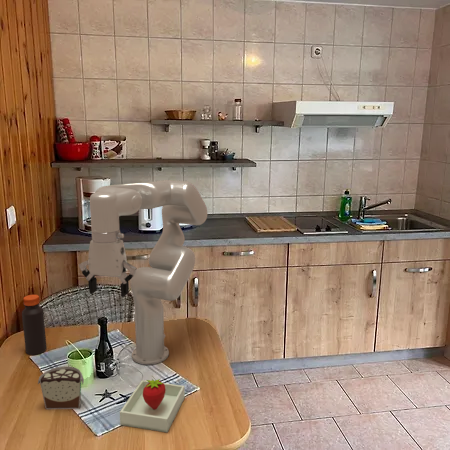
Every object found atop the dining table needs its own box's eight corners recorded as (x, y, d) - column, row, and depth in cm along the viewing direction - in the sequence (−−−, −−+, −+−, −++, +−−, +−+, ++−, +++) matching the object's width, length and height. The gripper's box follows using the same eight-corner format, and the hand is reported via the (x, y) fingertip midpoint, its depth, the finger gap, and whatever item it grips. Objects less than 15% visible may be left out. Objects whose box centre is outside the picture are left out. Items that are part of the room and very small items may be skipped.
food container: (90, 395, 132) (88, 365, 130) (84, 408, 126) (82, 377, 124) (48, 396, 131) (45, 365, 129) (40, 409, 125) (37, 377, 123)
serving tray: (142, 391, 134) (141, 380, 133) (184, 398, 131) (184, 385, 130) (120, 425, 119) (119, 411, 118) (167, 432, 117) (167, 419, 116)
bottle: (27, 357, 152) (21, 302, 148) (24, 348, 158) (19, 295, 153) (48, 352, 156) (43, 298, 151) (45, 344, 161) (40, 292, 157)
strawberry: (138, 414, 123) (137, 381, 120) (151, 399, 130) (151, 367, 127) (157, 419, 121) (156, 386, 118) (170, 403, 128) (169, 371, 125)
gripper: (140, 235, 127) (142, 291, 131) (84, 231, 130) (88, 286, 134) (129, 242, 120) (131, 301, 124) (70, 237, 123) (74, 295, 127)
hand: (108, 293), depth 129 cm, fingers open, 9 cm apart
